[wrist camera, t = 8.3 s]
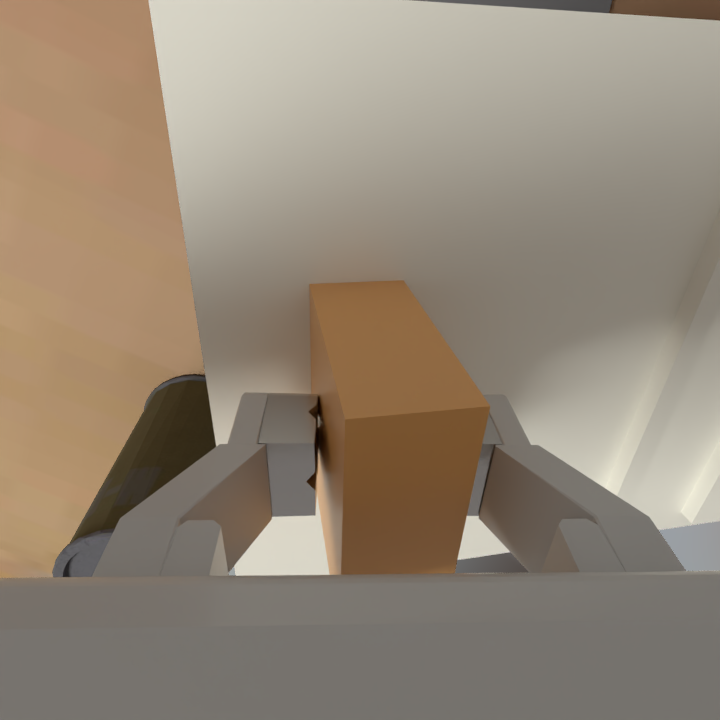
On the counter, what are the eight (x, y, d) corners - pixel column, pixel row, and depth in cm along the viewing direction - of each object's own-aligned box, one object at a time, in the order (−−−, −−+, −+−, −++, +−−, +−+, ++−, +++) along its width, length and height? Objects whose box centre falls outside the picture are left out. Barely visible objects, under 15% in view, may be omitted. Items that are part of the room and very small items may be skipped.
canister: (214, 356, 43) (131, 551, 26) (278, 437, 48) (244, 645, 31) (117, 404, 45) (-18, 612, 28) (187, 476, 50) (109, 690, 33)
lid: (946, 45, 12) (1524, 36, 7) (710, 473, 20) (891, 635, 14) (167, -3, 9) (31, -99, 3) (239, 533, 17) (234, 775, 11)
